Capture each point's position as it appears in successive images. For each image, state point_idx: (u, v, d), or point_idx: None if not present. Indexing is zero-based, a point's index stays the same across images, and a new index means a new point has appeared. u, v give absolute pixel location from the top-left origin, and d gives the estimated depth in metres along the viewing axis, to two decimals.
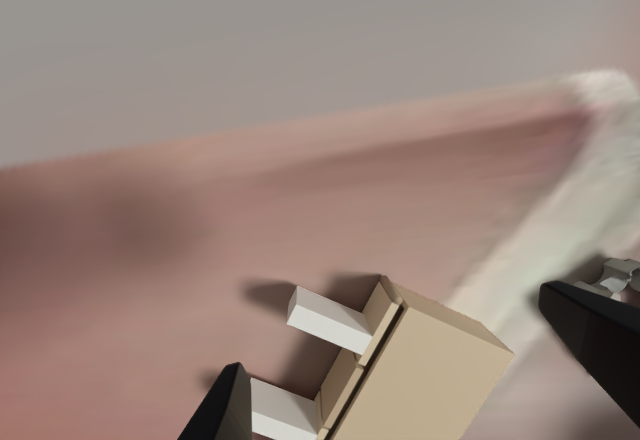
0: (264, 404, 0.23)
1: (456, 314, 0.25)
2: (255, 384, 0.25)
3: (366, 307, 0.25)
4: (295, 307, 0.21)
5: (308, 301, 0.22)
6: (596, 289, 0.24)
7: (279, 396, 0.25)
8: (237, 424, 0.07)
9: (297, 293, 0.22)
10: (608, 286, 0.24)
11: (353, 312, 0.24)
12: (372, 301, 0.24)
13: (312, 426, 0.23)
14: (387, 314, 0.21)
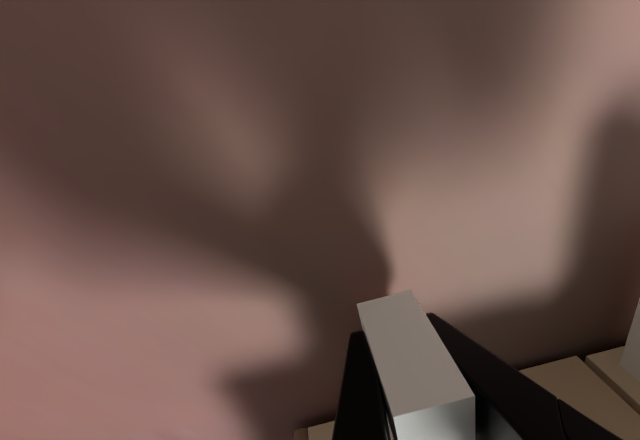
0: None
1: None
2: None
3: None
4: None
5: None
6: None
7: None
8: (380, 387, 0.07)
9: None
10: None
11: None
12: None
13: None
14: None
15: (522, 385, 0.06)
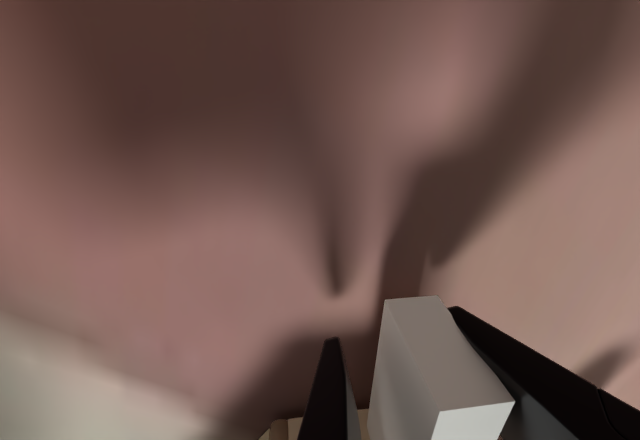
0: None
1: None
2: None
3: None
4: None
5: None
6: None
7: None
8: (351, 395, 0.07)
9: None
10: None
11: None
12: None
13: None
14: None
15: (560, 376, 0.06)
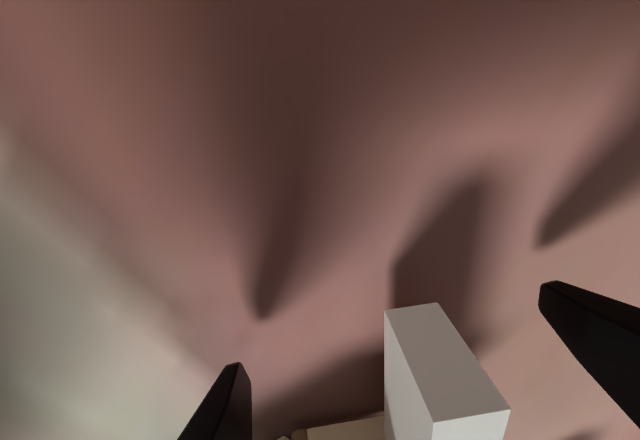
0: None
1: None
2: None
3: None
4: None
5: None
6: None
7: None
8: (237, 424, 0.07)
9: None
10: None
11: None
12: None
13: None
14: None
15: None
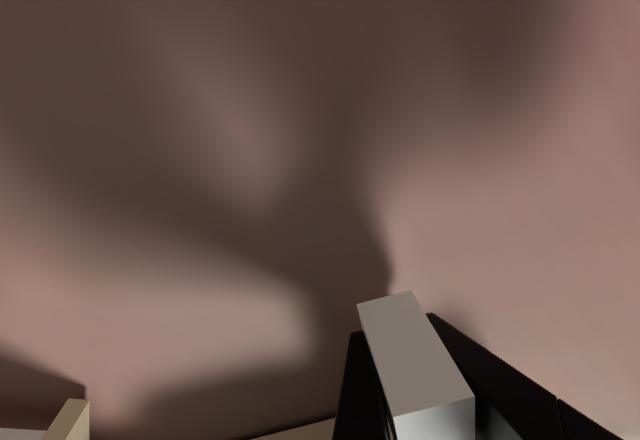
0: None
1: None
2: None
3: None
4: (461, 400, 0.06)
5: None
6: None
7: None
8: (380, 387, 0.07)
9: (431, 327, 0.07)
10: None
11: None
12: None
13: None
14: None
15: (522, 385, 0.06)
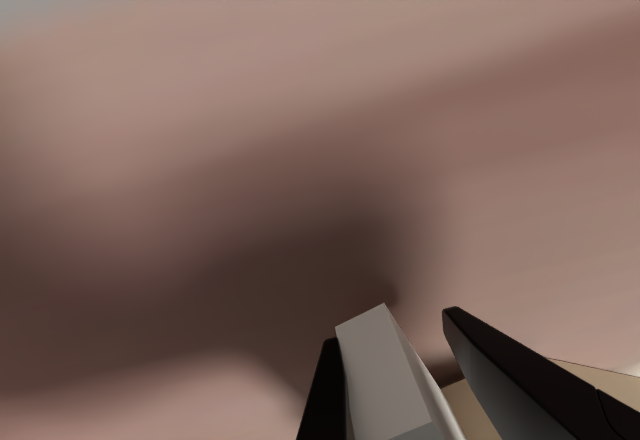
0: None
1: None
2: None
3: (459, 392, 0.11)
4: (420, 426, 0.06)
5: (423, 385, 0.07)
6: None
7: None
8: None
9: (400, 344, 0.07)
10: None
11: (447, 404, 0.10)
12: None
13: None
14: None
15: (558, 376, 0.06)
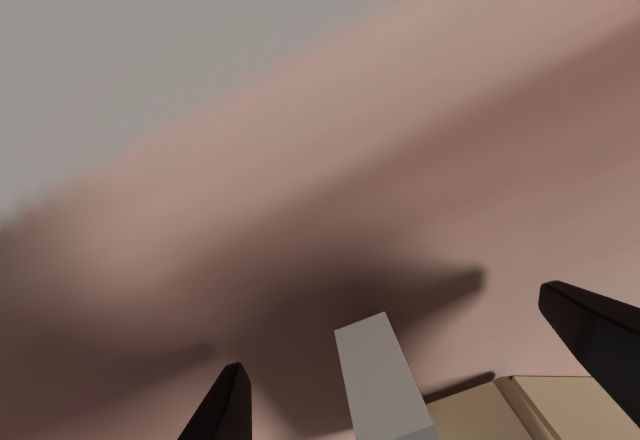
0: None
1: None
2: None
3: (439, 410, 0.12)
4: (422, 429, 0.06)
5: None
6: None
7: None
8: (237, 424, 0.07)
9: (401, 351, 0.08)
10: None
11: None
12: (466, 415, 0.11)
13: None
14: None
15: None
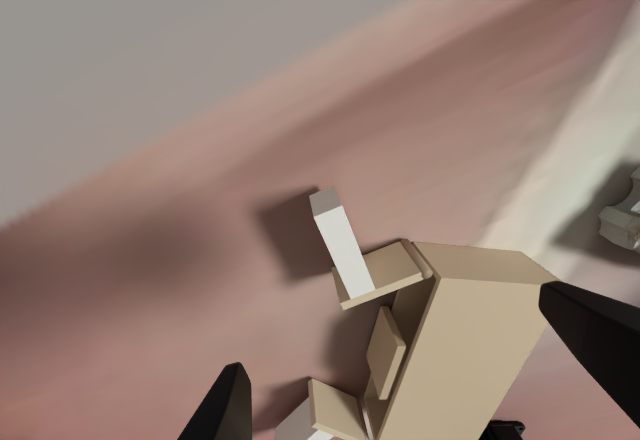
0: None
1: (493, 254, 0.22)
2: (277, 433, 0.27)
3: (369, 256, 0.21)
4: (338, 207, 0.16)
5: None
6: (628, 216, 0.21)
7: (291, 423, 0.26)
8: (237, 424, 0.07)
9: (336, 194, 0.17)
10: None
11: None
12: (382, 255, 0.21)
13: None
14: (406, 279, 0.18)
15: None
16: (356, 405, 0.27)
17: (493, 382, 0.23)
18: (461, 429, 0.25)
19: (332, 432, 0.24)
